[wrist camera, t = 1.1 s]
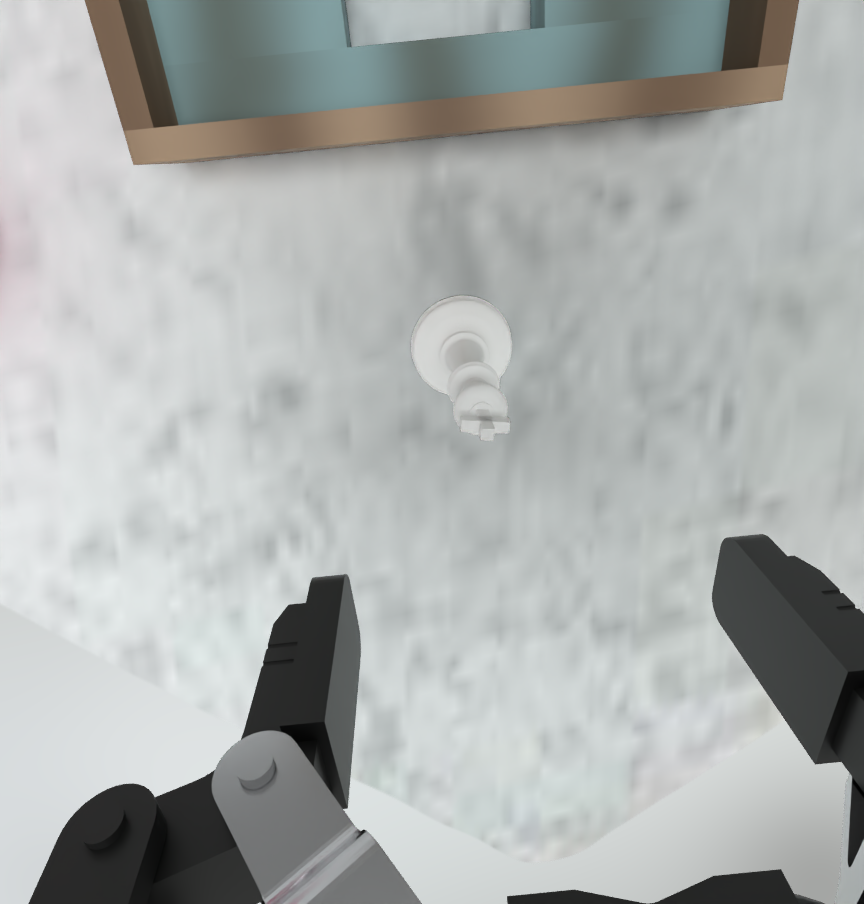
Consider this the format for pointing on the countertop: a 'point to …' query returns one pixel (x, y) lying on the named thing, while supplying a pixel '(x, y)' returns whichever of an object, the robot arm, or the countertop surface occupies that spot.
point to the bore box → (420, 72)
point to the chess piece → (466, 361)
